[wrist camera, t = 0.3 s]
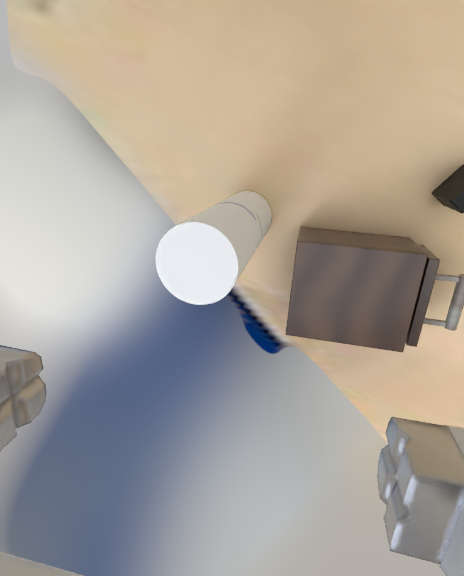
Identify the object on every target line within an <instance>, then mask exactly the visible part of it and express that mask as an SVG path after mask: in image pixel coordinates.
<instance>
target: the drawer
mask: <svg viewBox="0 0 464 576" xmlns="http://www.w3.org/2000/svg"><path fill="white" fill-rule="evenodd" d="M416 245H417V246H419V247H420V248H421V249H422V250H423V251H424V252H425V253H426V254H427V255H428V256H427V260H426V264H425V268H424V272H423V276H422V280H421V283H420V287H419V291H418V295H417V299H416V303H415V307H414V311H413V315H412V319H411V323H410V327H409V330H408V334H407V338H406V344H407V345H409V346H416V347H417V344H418V340H419V336H420V332H421V329H422V325H423V324H430V325H437V326H444V327H445V328H446V329H449V330H456V329H457V325H458V322H459V319H460V316H461V312H462V309H463V306H464V274H460V275H459V276H452V275H443V274H436V273H437V269H438V265H439V262H440V259H439V258H437V257H436V256H435V255H434V254H433V253H432V252H431V251H429V250H428V249H427V248H426V247H425V246H424V245H418V244H416ZM435 279H436V280H444V281H453V282H457V283H456V286H455V290H454V293H453V297H452V300H451V304H450V307H449V310H448V314H447V317H446V321H443V320H435V319H428V318H425V314H426V310H427V306H428V303H429V299H430V295H431V292H432V288H433V284H434V280H435Z"/></svg>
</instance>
